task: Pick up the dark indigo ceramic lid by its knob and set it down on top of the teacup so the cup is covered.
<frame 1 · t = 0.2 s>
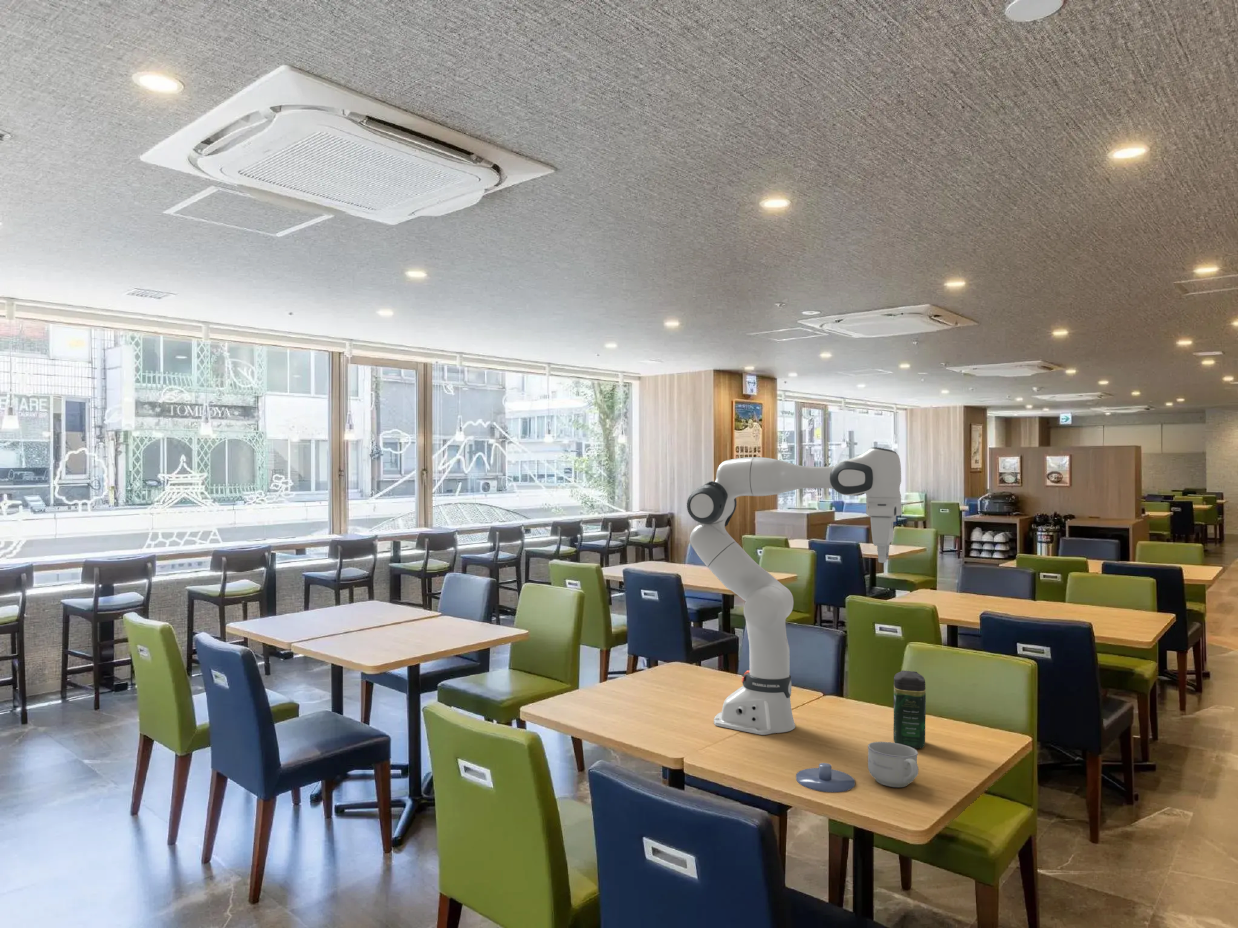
hand: (883, 560, 211), 48 cm above the table, fingers open, 8 cm apart
lid: (825, 782, 182), on the table
teacup: (895, 786, 180), on the table
coffee jar: (909, 744, 208), on the table
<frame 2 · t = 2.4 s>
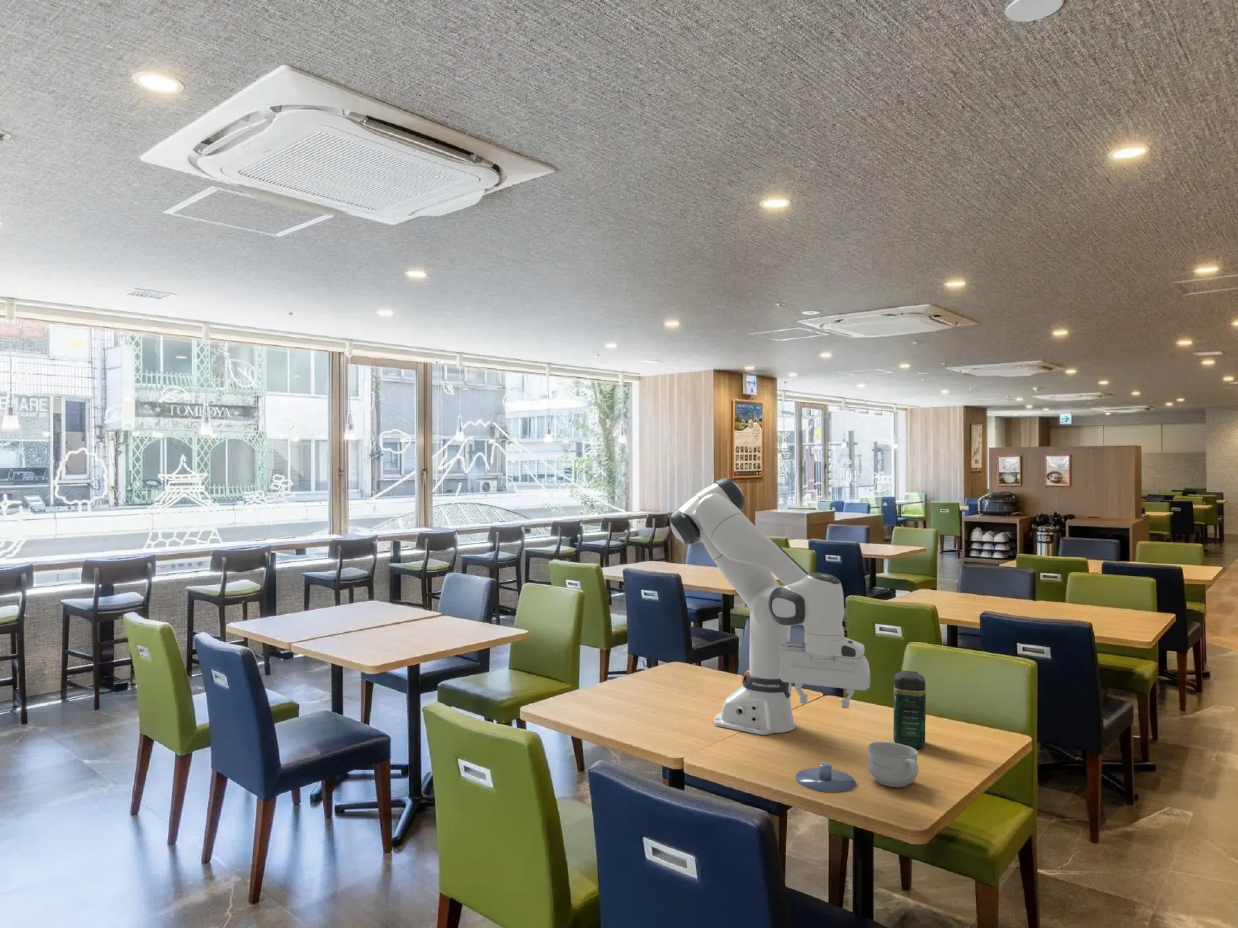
hand: (824, 705, 183), 17 cm above the table, fingers open, 8 cm apart
nothing on the table moved.
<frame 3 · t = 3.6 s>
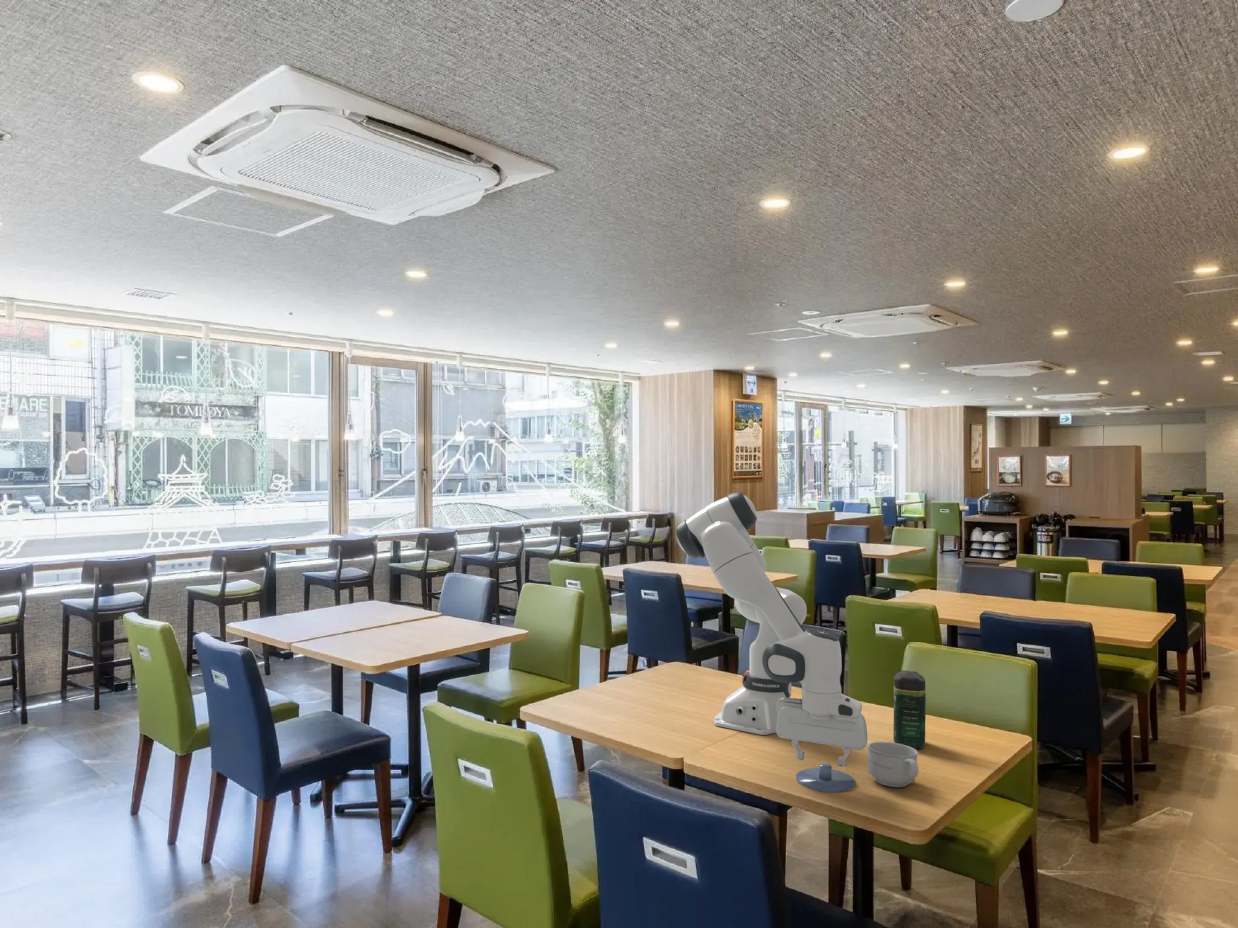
hand: (820, 762, 182), 4 cm above the table, fingers open, 8 cm apart
nothing on the table moved.
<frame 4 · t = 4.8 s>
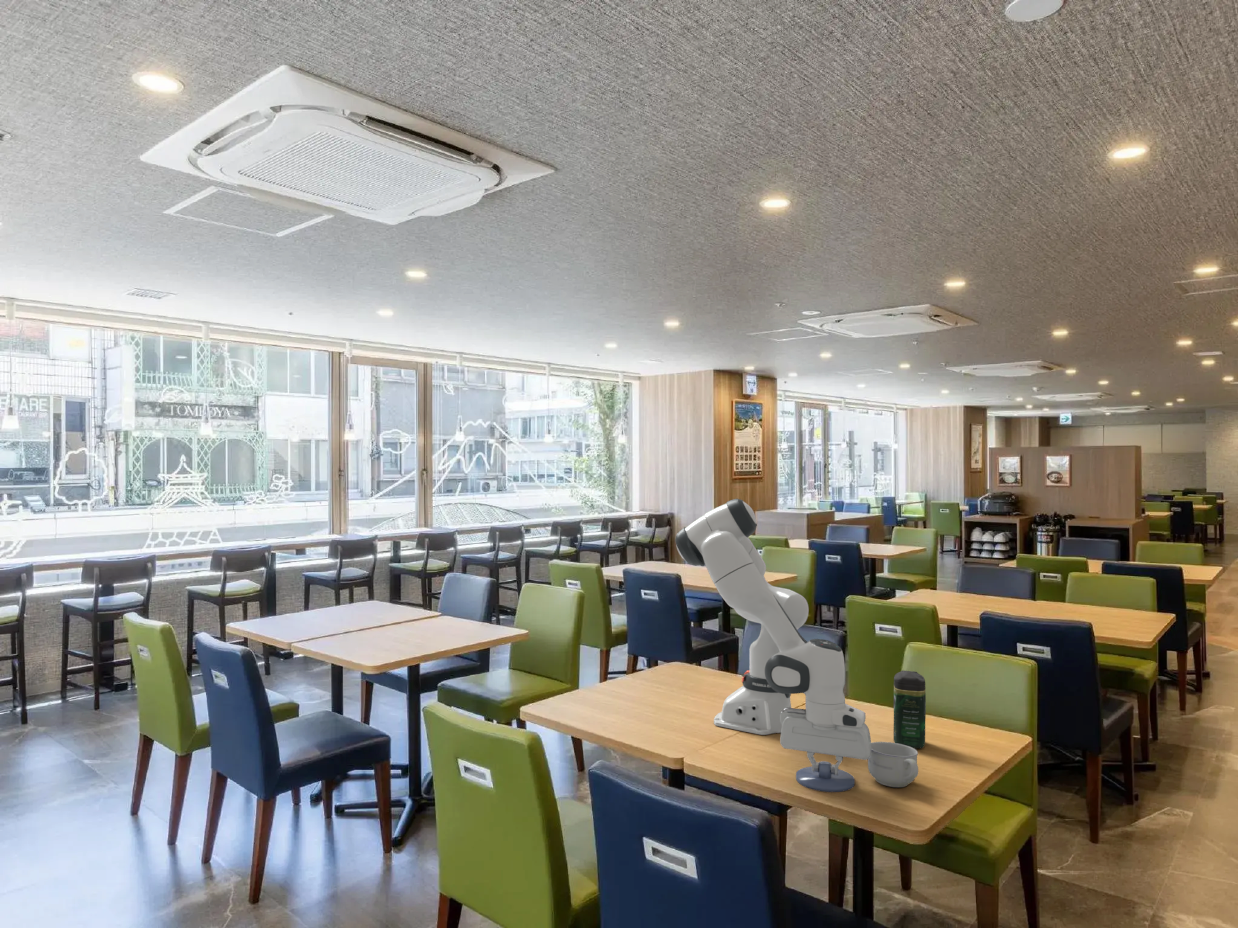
hand: (825, 772, 182), 2 cm above the table, fingers closed on lid, 3 cm apart
lid: (825, 780, 182), on the table, touching gripper
everything else where it was.
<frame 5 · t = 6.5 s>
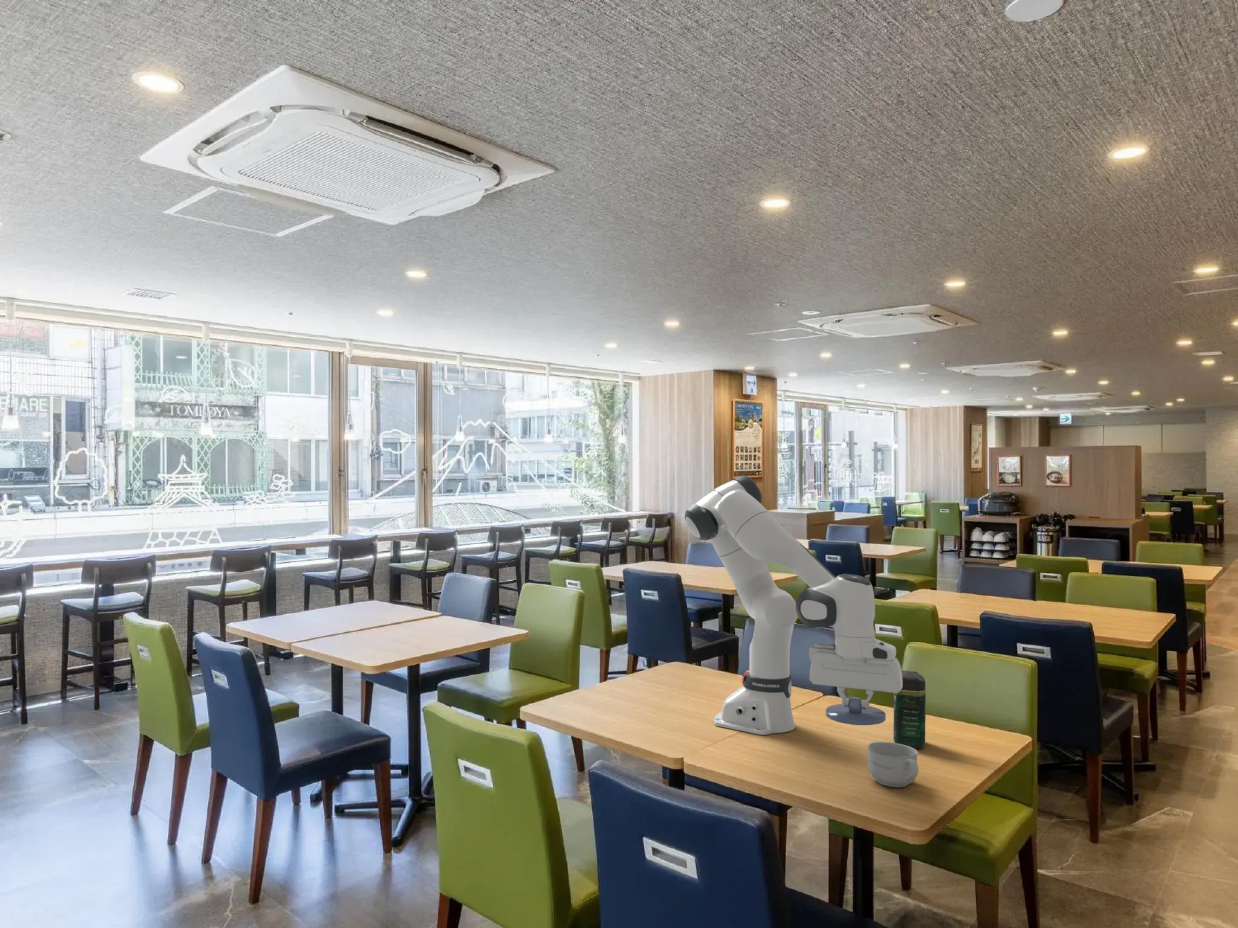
hand: (855, 707, 181), 17 cm above the table, fingers closed on lid, 3 cm apart
lid: (855, 716, 181), point 15 cm above the table, touching gripper
everything else where it was.
when the fingers open (11 cm above the table, at t = 8.4 s): lid drops 1 cm, resting on teacup.
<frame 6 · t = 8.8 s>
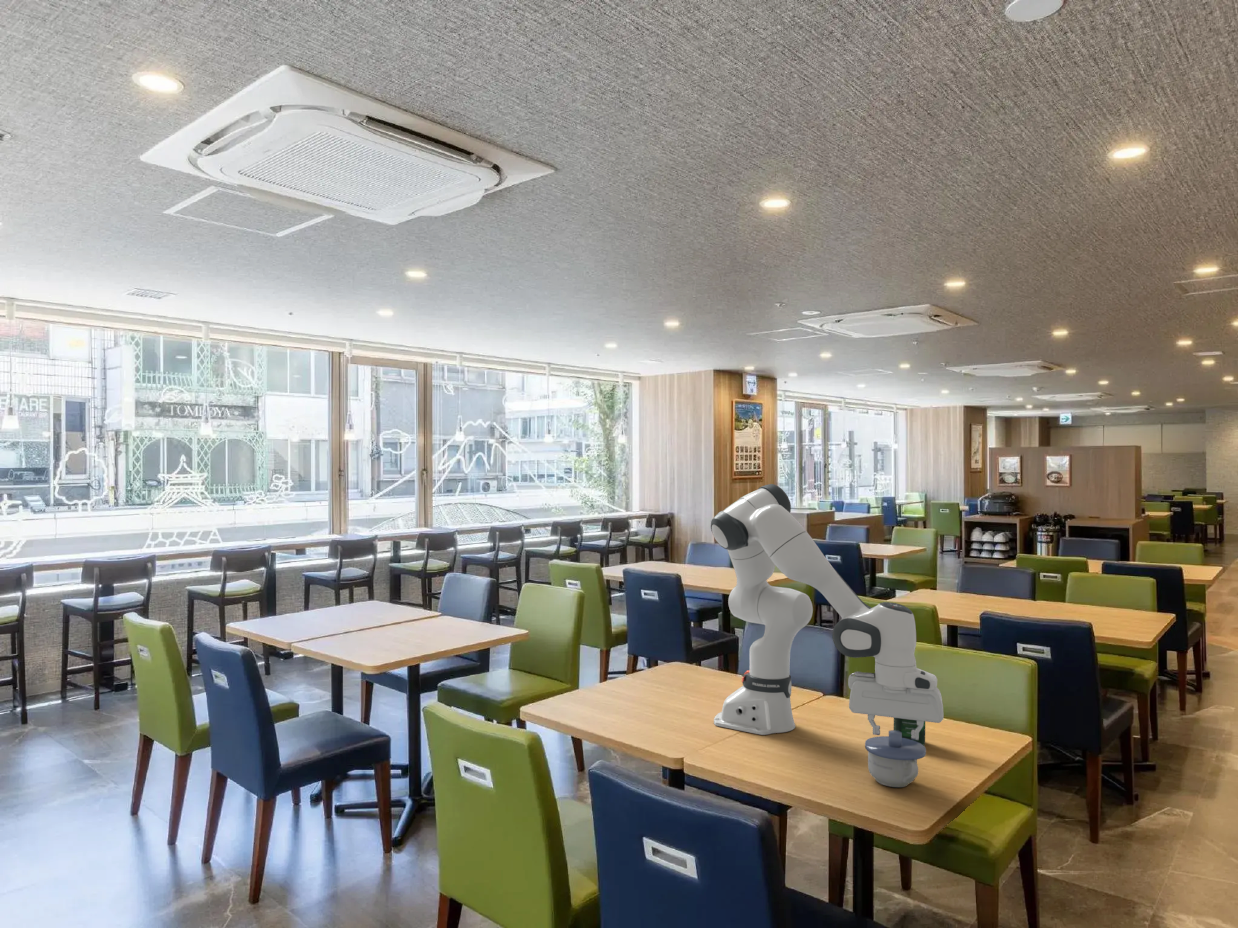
hand: (895, 736, 180), 11 cm above the table, fingers open, 7 cm apart
lid: (895, 749, 180), point 8 cm above the table, touching teacup
teacup: (895, 786, 180), on the table, touching lid
everything else where it was.
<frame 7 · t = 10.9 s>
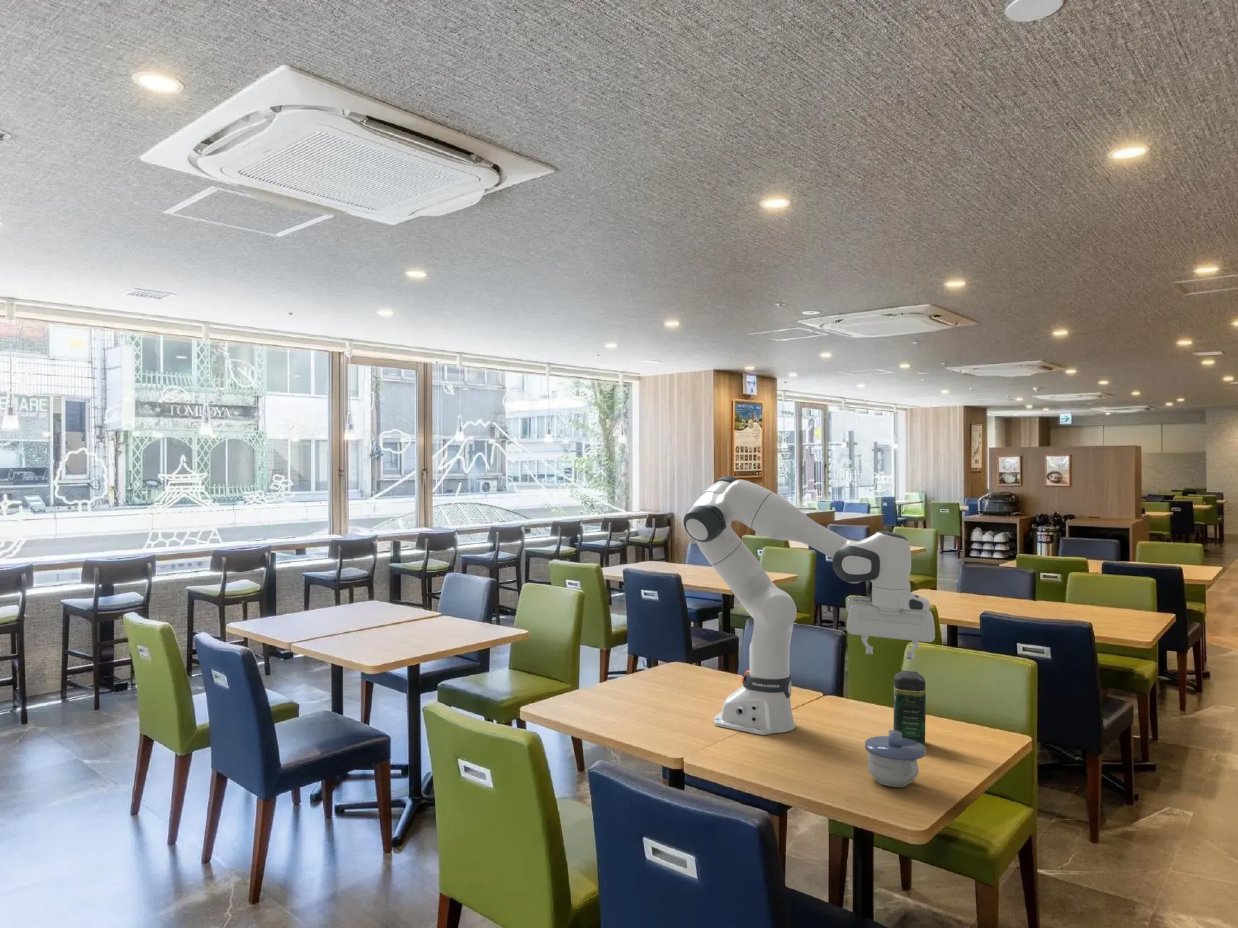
hand: (889, 656, 192), 26 cm above the table, fingers open, 8 cm apart
nothing on the table moved.
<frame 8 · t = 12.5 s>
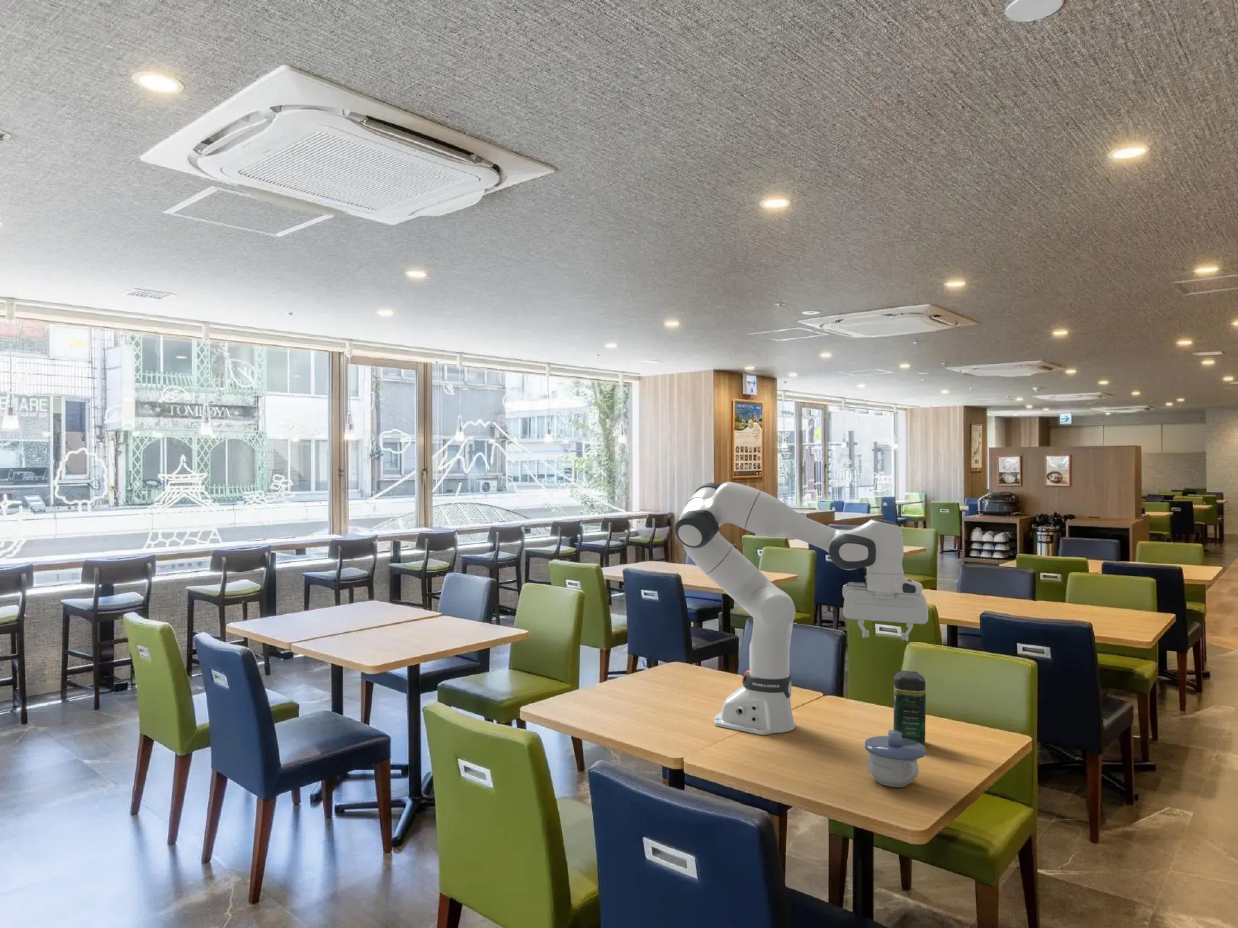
hand: (885, 638, 199), 29 cm above the table, fingers open, 8 cm apart
nothing on the table moved.
at the end: lid 0.2 cm from the teacup (horizontally); lid point 7.9 cm above the table; lid tilted 0° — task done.
